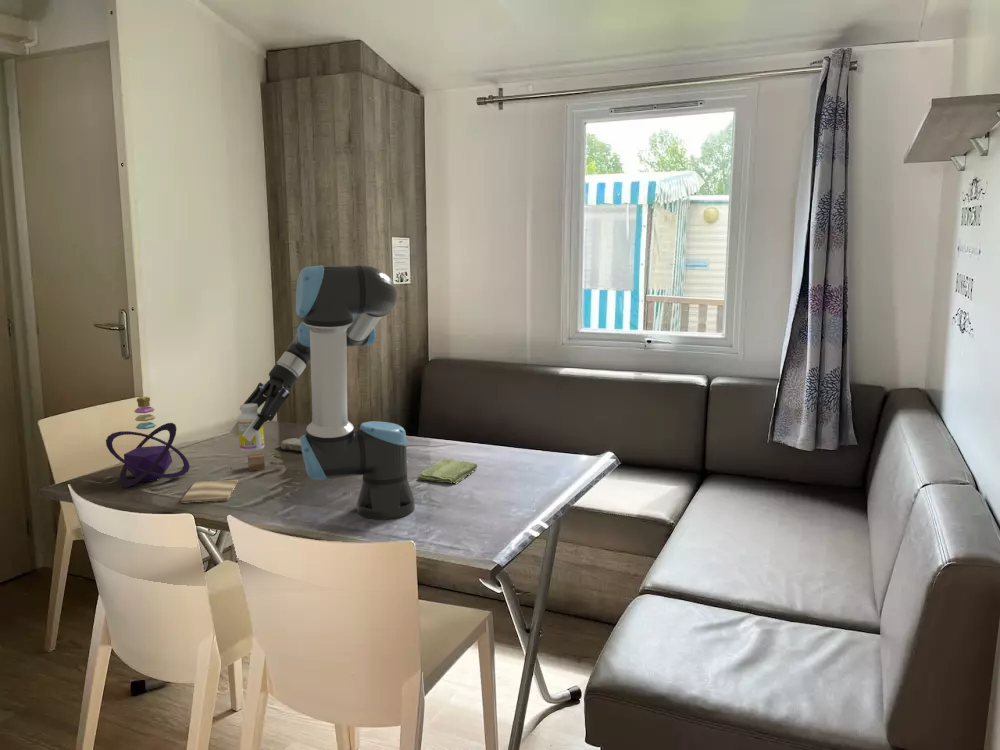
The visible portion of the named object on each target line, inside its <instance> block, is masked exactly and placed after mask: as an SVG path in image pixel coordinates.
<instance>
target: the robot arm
mask: <svg viewBox="0 0 1000 750" xmlns="http://www.w3.org/2000/svg"><path fill="white" fill-rule="evenodd" d="M295 289H296V290H295V313H296V315H297V316H298V317H300V318H302V322H301V323H300V324H299V326H297V329H296V333H295V336H294V339H293V340H292V341H291V343H290V344H289V346H288V347H287V349H286V350H285V351H283V354H281V356H280V357H279V359H278V360H277V361H276V364H275V365H274V366H273V367H272V369H271V370H270V371H269V373H268V376H269V380H268V381H266V383H262V382H259V383H257V386H256V388H255V389H254V390H253V392H252V393H251V394H250V395H249V397H248V398H247V399H246V400H245V401H244V403H243V404H250V403H253V404H257V405H258V409H259V408H260V407H261V406H262V405H263V404H264V405H263V406H262V408H261V411H260V412H259V413H260V414H257V416H258V417H259V418H258V417H255V419H254V420H253V421H252V423H251V424H250V426H249V427H248V428H247V430H246V431H245V432H244V434H243V435H242V436H243V437H244V438H246V439H247V440H248V441H251V440H252V439H253V437H254V436H255V434H256V433H257V432H258V430H259V429H260V428H261V426H262V425H263V426H264V424H265V423H266V422H268V421H269V422H271V421H273V420H274V418H275V416H276V415H277V414H278V411H279V410H280V408H281V407H282V405H283V404H284V402H285V400H287V398H288V397H289V396H290V395H291V392H290V391H289V389H292V387H293V386H294V385H295V383H296V382H297V380H298V378H299V377H300V376H302V375H301V374H302V373H303V372H304V370H305V368H306V367H307V366H308V365H309V363H310V375H311V377H310V378H311V382H310V384H311V411H312V412H311V413H312V414H311V417H312V420H311V422H310V423H309V424H308V425H307V426H306V430H305V431H306V433H305V434H303V435H300V437H299V439H300V443H301V449H302V452H301V453H302V454H301V455H302V458H303V463H304V466H305V471H306V474H307V476H308V477H309V479H311V480H313V481H319V480H321V481H323V480H326V481H328V480H333V479H338V478H346V477H347V478H348V477H353V476H354V477H356V476H362V483H361V486H360V487H361V488H360V489H359V490H360V491H359V494H358V498H357V501H356V512H357V514H358V515H360V516H361V517H363V518H367V519H373V520H390V519H397V518H401V517H404V516H407V515H409V514H411V513H413V512H414V510H415V509H416V504H415V498H414V497H415V496H414V495H413V492H412V490H411V487H410V483H409V481H408V457H407V456H408V455H407V454H408V453H407V447H408V442H407V435H406V430H405V429H404V427H402V426H401V425H399V424H397V423H393V422H387V421H386V422H385V421H374V420H373V421H366V422H361V424H360V426H359V429H355V427H354V425H353V423H351V422H350V421H349V420H348V363H347V361H348V357H347V356H348V355H347V353H348V352H347V351H348V350H347V349H348V348H347V347H365V346H372V345H374V343H375V340H376V326H377V324H378V323H379V322H380V320H381V318H383V317H385V316H387V315H388V314H390V313H391V312H392V310H393V309H394V307H395V306H396V304H397V300H398V299H397V298H398V291H397V287H396V286H395V283H394V281H393V280H392V279H391V277H390V276H389V275H388V274H387V273H386V272H384V271H383V270H381V269H379V268H376V267H374V266H371V265H366V264H365V265H364V264H363V265H362V264H358V265H322V264H320V265H313V266H305V267H303V268H302V269H301V270H300V272H299V274H298V278H297V281H296V288H295ZM287 389H288V390H287ZM228 433H230V434H231V435H233V436H234V437H236V438H238V437H239V430H238V418H237V419H236V421H235V422H234V423H233V425H232V426H231V428H230V429H229V431H228Z"/></svg>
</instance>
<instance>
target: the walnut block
mask: <svg viewBox="0 0 1000 750" xmlns="http://www.w3.org/2000/svg"><path fill="white" fill-rule="evenodd" d="M247 465H248V467H249V468H248V470H250V471H249V472H255V471H254V470H258V471H265V470H264V469H266V467H265V465H266V463H265V455H264V453H263V452H253V453H252V452H251V453H247Z"/></svg>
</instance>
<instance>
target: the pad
mask: <svg viewBox="0 0 1000 750" xmlns="http://www.w3.org/2000/svg"><path fill="white" fill-rule="evenodd" d="M237 483H238V484H239V480H238V479H226V480H224V479H223V480H208V481H206V480H205V481H194V483H193V484H192V485H191V487H190V488H189V489H188V491H186V493H185V494H184V495H183V497H182V498H181V500H180V504H181V503H184V502H192V501H193V502H195V501H201V502H202V501H221V502H227V501H226V500H228V501H229V499H230V498H231V496H232V494H233V493H234V491H235V489H236V488H237V486H238V484H237ZM236 485H237V486H236ZM235 487H236V488H235ZM234 488H235V489H234ZM233 490H234V491H233ZM232 492H233V493H232ZM231 493H232V494H231ZM230 495H231V496H230ZM228 498H229V499H228Z"/></svg>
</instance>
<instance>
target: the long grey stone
mask: <svg viewBox="0 0 1000 750" xmlns="http://www.w3.org/2000/svg"><path fill="white" fill-rule="evenodd" d="M280 448H281V450H289V451H295V452H299V451H300V452H301V453H302V449H301V443H300V438H298V437H295V438H293V437H292V438H287V439H283V440H282V441H281V442H280ZM300 452H299V453H300Z"/></svg>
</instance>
